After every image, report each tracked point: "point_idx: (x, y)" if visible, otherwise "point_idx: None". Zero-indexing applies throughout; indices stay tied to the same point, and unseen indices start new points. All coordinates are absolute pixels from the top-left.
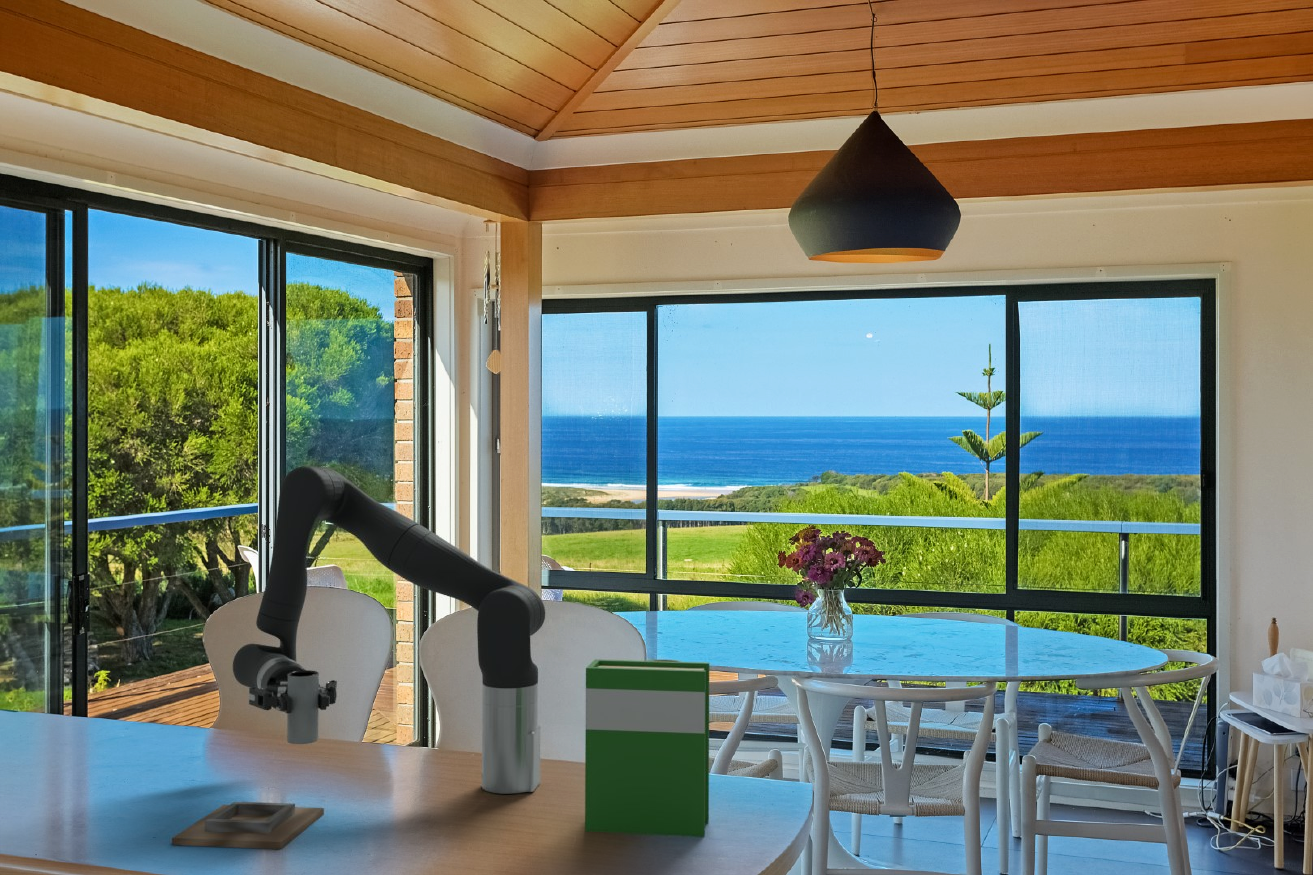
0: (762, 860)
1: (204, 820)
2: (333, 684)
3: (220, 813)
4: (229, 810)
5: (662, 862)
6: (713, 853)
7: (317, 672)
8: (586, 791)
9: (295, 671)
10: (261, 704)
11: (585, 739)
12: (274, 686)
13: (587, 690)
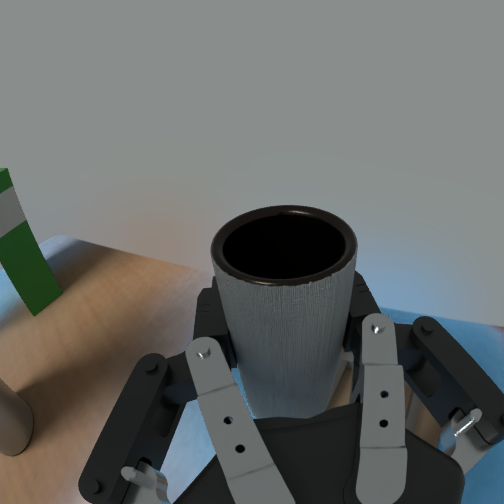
0: (54, 237)
1: (434, 427)
2: (118, 422)
3: (415, 403)
4: (405, 422)
5: (82, 242)
6: (57, 247)
7: (217, 238)
8: (48, 266)
9: (324, 270)
10: (437, 383)
11: (29, 228)
12: (427, 478)
13: (13, 187)
